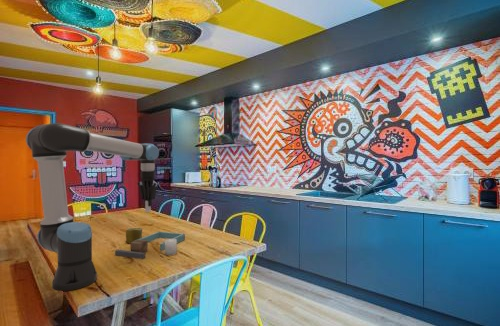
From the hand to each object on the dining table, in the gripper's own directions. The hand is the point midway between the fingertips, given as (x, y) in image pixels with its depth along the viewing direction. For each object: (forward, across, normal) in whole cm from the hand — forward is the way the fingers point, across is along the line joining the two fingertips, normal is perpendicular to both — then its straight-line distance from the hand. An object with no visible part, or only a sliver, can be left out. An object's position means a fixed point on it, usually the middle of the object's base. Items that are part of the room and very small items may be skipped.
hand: (148, 211), depth 154 cm
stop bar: (+20, -2, +16) cm, 26 cm away
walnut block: (+20, -2, +9) cm, 22 cm away
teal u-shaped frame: (+20, -2, -8) cm, 22 cm away
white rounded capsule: (+20, -19, +5) cm, 28 cm away
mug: (+20, +16, -7) cm, 27 cm away
